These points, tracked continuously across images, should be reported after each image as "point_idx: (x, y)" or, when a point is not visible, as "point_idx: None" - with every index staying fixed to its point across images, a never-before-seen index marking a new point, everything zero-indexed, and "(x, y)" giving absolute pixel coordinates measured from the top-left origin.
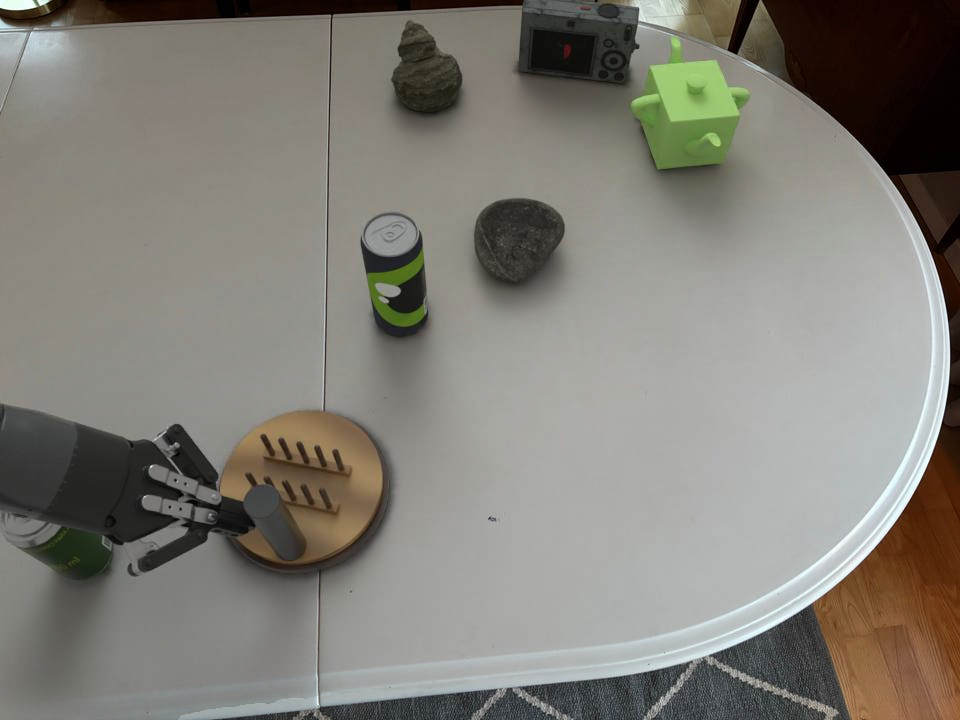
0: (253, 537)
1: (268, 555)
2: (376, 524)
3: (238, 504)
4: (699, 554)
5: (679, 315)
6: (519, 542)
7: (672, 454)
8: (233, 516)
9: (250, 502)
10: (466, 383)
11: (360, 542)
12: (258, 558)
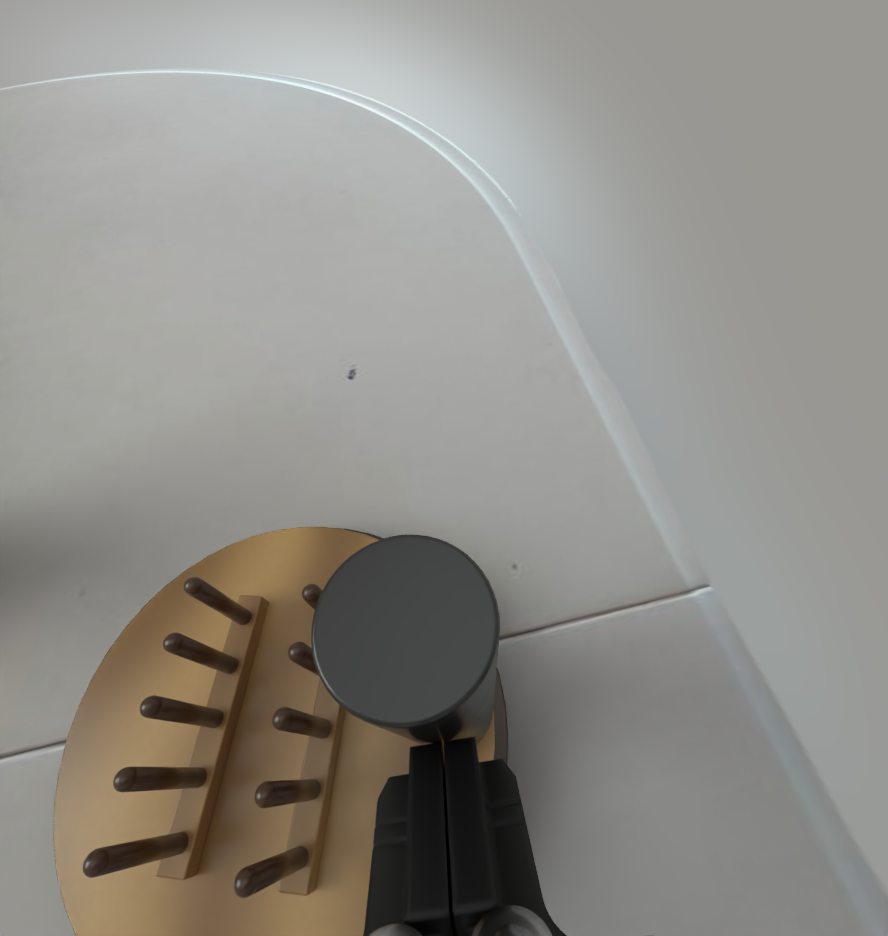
0: None
1: None
2: (375, 536)
3: (393, 834)
4: (386, 184)
5: (52, 223)
6: (387, 337)
7: (257, 212)
8: (461, 831)
9: (418, 678)
10: (89, 449)
11: None
12: None
